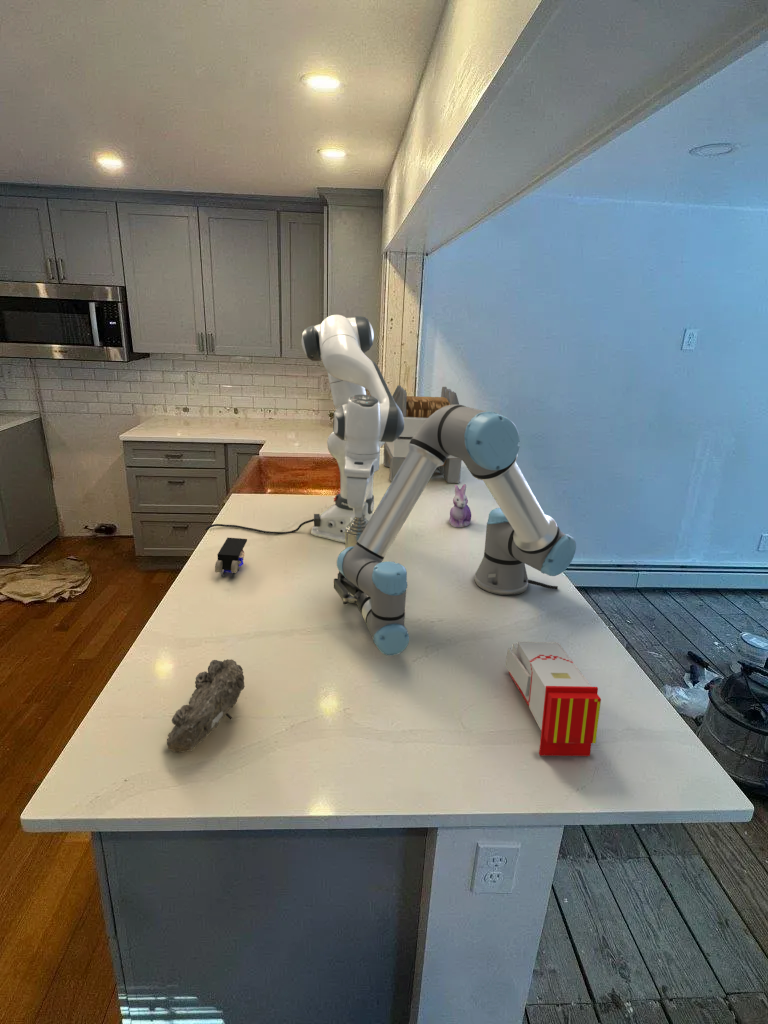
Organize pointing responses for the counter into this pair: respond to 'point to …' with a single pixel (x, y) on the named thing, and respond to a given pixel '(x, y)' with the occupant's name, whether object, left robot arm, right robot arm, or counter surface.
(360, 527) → the silver ridged cylinder
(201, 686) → the fossil
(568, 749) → the toy
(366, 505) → the cap
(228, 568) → the figurine character
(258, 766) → the counter surface
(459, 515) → the figurine
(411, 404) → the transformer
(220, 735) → the counter surface
